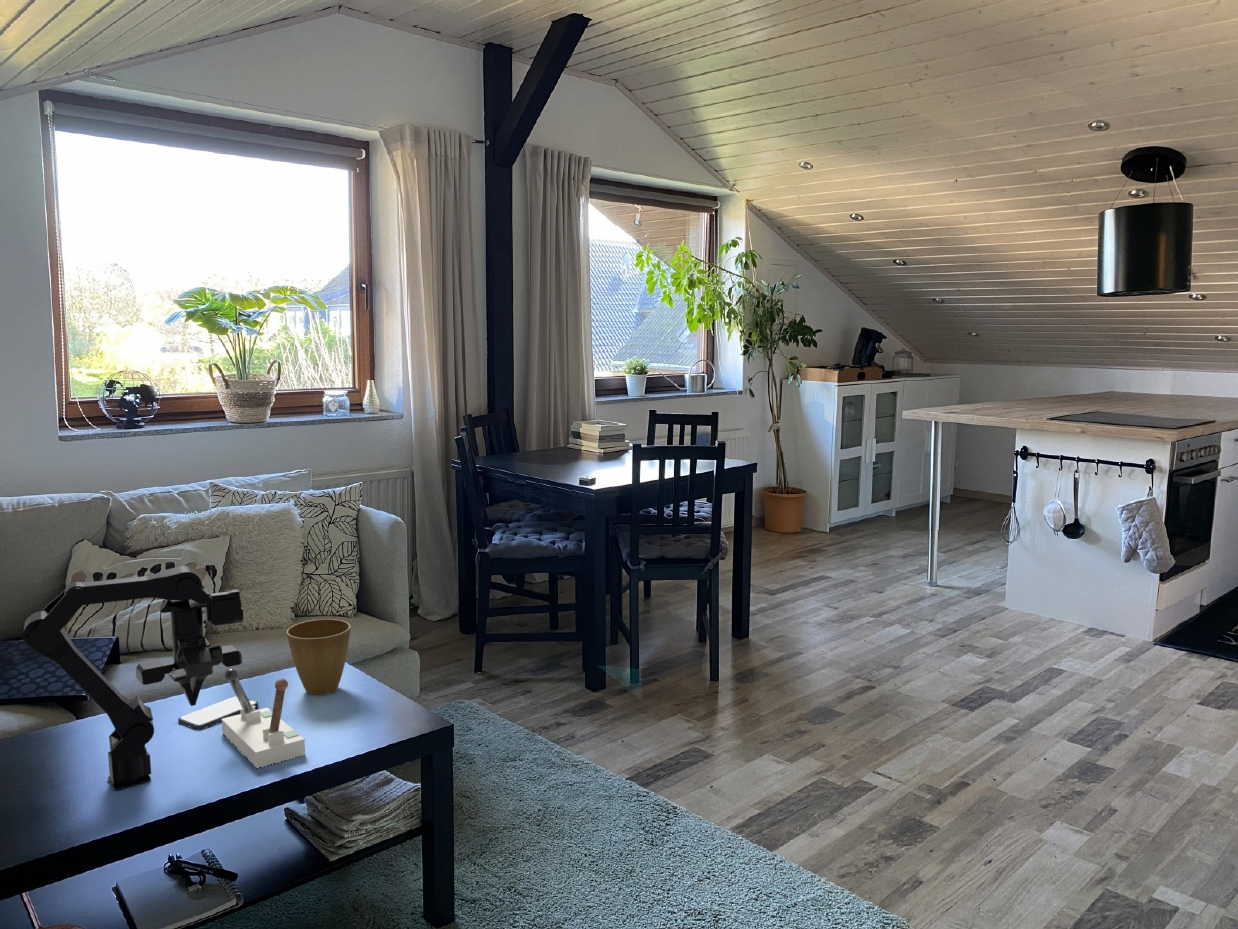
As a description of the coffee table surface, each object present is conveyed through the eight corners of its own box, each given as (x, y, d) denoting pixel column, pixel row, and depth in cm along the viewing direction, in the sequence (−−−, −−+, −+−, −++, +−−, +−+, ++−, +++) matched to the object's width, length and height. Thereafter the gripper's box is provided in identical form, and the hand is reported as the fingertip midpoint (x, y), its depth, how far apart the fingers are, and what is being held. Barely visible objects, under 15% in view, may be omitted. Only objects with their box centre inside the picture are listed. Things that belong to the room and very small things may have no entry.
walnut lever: (269, 736, 195) (278, 680, 195) (264, 732, 197) (273, 677, 197) (281, 736, 197) (290, 680, 197) (277, 732, 199) (286, 676, 199)
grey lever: (246, 719, 206) (224, 674, 202) (242, 715, 208) (220, 671, 204) (257, 712, 207) (236, 668, 203) (253, 708, 209) (232, 665, 205)
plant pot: (281, 689, 235) (277, 626, 232) (339, 675, 244) (336, 615, 242) (302, 707, 223) (299, 641, 221) (362, 692, 232) (360, 629, 230)
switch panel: (256, 769, 191) (255, 743, 190) (222, 734, 208) (220, 710, 207) (305, 755, 197) (304, 730, 197) (268, 722, 214) (266, 699, 213)
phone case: (199, 733, 210) (261, 708, 223) (198, 726, 210) (260, 702, 223) (175, 724, 215) (238, 700, 228) (175, 718, 215) (237, 694, 228)
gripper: (147, 650, 176) (152, 730, 179) (248, 630, 188) (253, 705, 190) (132, 636, 185) (138, 712, 187) (230, 617, 197) (235, 689, 199)
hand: (192, 705), depth 191 cm, fingers closed
